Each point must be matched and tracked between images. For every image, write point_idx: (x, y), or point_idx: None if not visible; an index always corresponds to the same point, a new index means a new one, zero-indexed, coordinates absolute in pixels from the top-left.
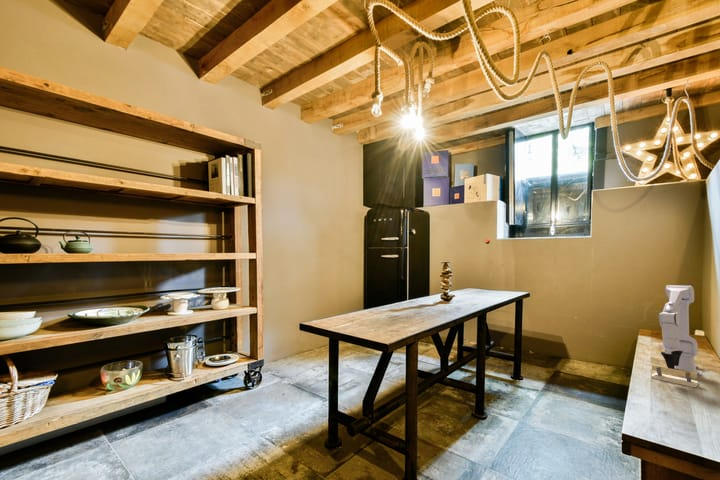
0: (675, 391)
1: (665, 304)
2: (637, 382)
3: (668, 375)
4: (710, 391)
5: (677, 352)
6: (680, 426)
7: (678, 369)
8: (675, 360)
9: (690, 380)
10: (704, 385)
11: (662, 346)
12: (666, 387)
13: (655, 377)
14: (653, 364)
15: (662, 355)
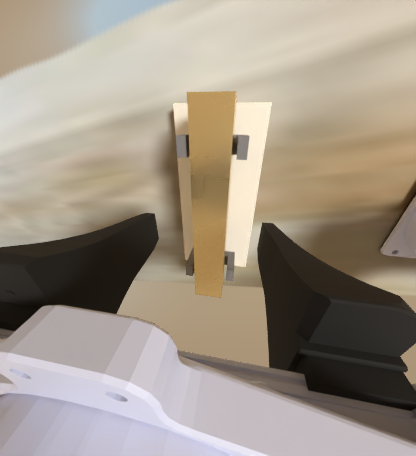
0: (83, 214)
1: None
2: (31, 75)
3: (254, 176)
4: (182, 278)
5: (275, 361)
6: None
7: (209, 246)
8: (124, 290)
9: None
10: (241, 270)
11: (20, 378)
12: (95, 188)
13: (176, 128)
14: (225, 98)
15: (24, 246)
